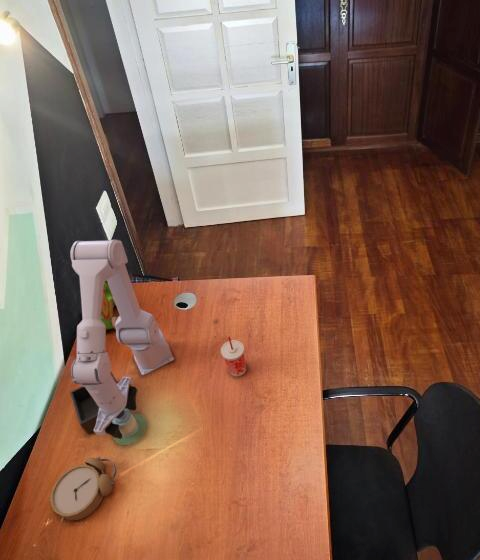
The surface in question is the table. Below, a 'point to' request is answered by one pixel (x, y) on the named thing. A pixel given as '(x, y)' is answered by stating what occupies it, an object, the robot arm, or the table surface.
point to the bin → (86, 407)
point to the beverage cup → (234, 357)
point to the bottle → (126, 423)
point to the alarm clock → (81, 489)
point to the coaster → (139, 433)
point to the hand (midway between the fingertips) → (125, 422)
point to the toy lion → (108, 308)
